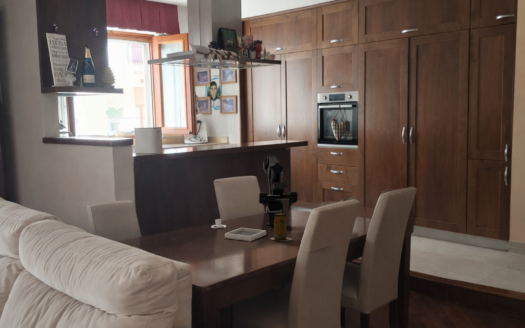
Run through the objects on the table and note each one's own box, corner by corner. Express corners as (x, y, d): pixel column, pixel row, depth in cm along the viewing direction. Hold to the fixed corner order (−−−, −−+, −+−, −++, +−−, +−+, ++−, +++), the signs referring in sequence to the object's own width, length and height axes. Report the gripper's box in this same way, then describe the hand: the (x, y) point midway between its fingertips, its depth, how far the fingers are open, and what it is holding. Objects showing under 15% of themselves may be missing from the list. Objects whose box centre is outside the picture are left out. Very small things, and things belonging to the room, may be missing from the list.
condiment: (281, 236, 245) (280, 211, 244) (293, 239, 239) (292, 214, 238) (269, 239, 241) (269, 213, 240) (281, 242, 234) (281, 216, 233)
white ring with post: (223, 229, 265) (223, 221, 264) (208, 229, 266) (208, 221, 266) (227, 225, 273) (227, 218, 273) (213, 225, 275) (213, 218, 275)
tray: (241, 231, 256) (241, 227, 256) (266, 234, 249) (266, 230, 249) (224, 238, 244) (224, 233, 244) (250, 241, 236) (250, 236, 236)
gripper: (258, 176, 248) (260, 202, 238) (296, 175, 249) (300, 201, 239) (258, 190, 256) (259, 215, 246) (294, 189, 258) (298, 214, 248)
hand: (279, 211), depth 244 cm, fingers open, 9 cm apart
